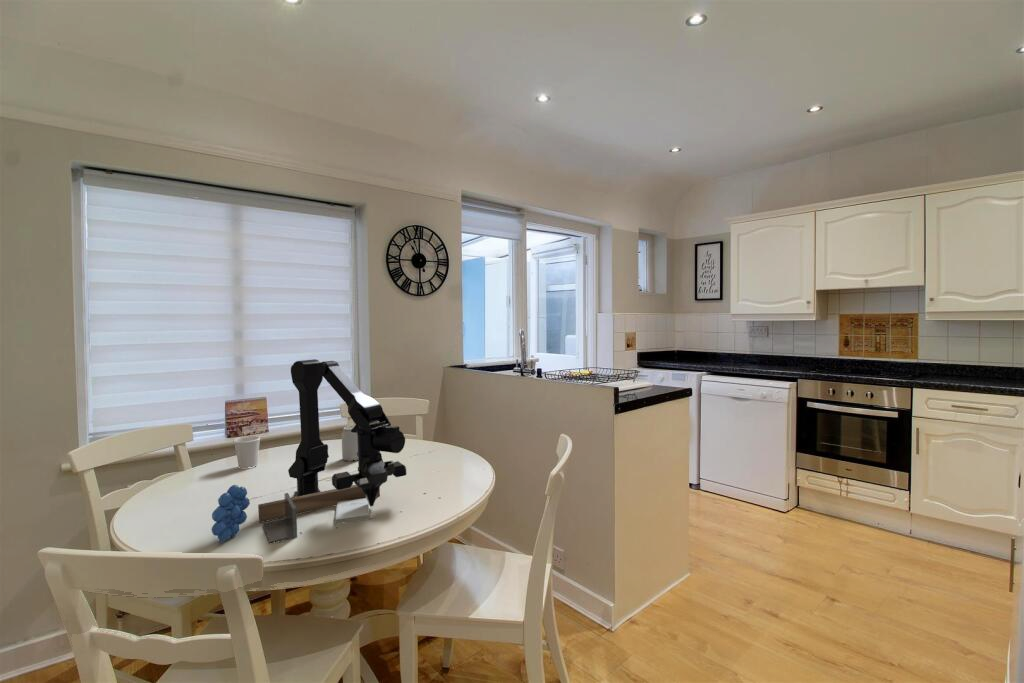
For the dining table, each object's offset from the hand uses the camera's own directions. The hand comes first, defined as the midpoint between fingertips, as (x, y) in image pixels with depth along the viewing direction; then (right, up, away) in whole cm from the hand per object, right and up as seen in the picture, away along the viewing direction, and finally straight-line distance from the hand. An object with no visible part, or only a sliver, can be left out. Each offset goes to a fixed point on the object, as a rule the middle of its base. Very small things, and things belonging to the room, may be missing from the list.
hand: (371, 505), depth 128 cm
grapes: (-29, -2, -16) cm, 33 cm away
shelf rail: (-14, -1, +1) cm, 14 cm away
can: (-21, +1, +47) cm, 51 cm away
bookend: (-18, -1, -13) cm, 23 cm away
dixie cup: (-55, 0, +39) cm, 68 cm away
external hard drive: (-4, -1, -2) cm, 5 cm away
